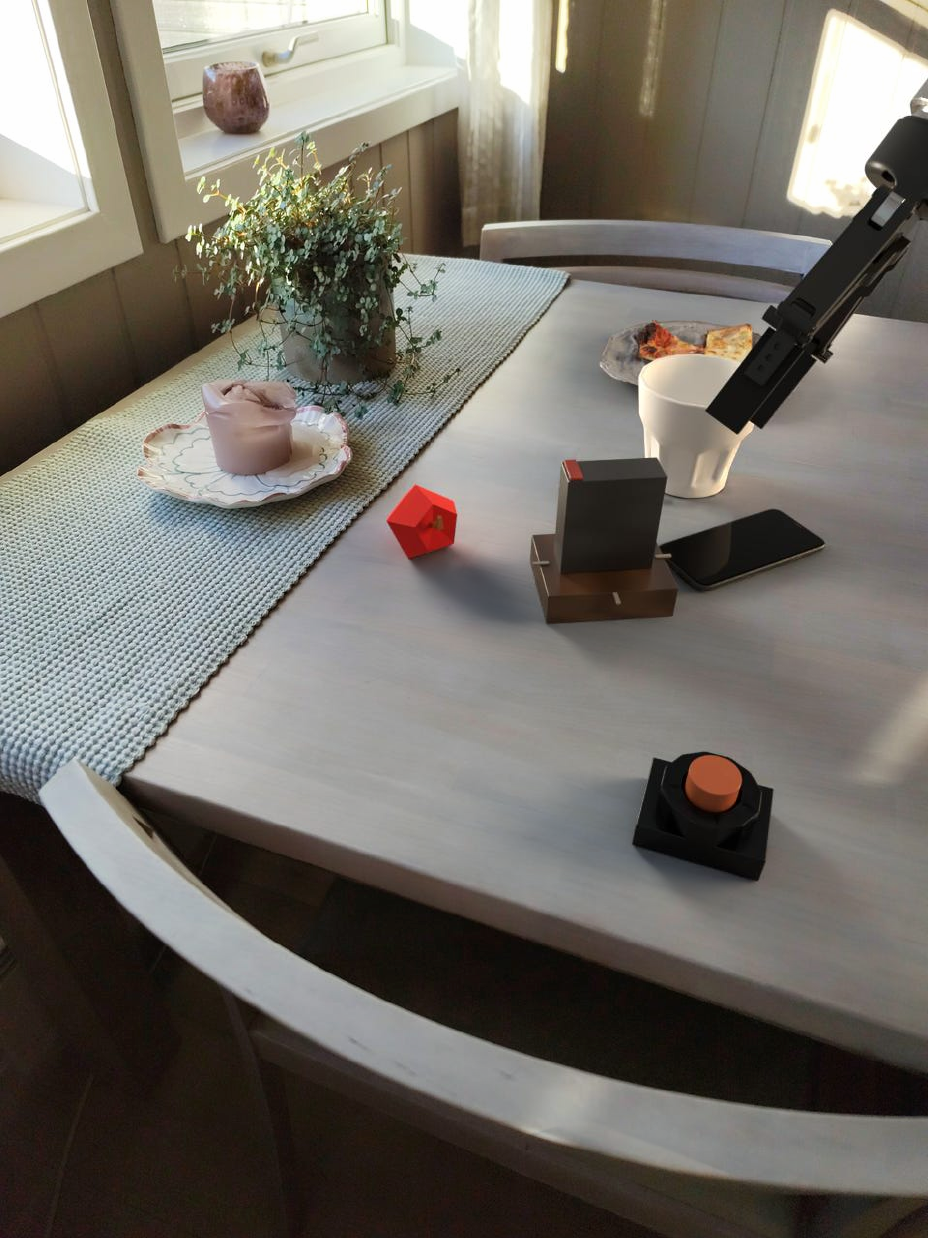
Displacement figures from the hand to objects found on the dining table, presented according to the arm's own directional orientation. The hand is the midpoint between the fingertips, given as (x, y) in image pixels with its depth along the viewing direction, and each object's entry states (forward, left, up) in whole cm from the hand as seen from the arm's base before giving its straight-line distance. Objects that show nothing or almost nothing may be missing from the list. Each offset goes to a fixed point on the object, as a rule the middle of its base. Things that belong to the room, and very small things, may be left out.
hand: (735, 421), depth 65 cm
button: (-15, +19, -14) cm, 28 cm away
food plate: (+30, -38, -17) cm, 51 cm away
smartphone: (+2, -9, -17) cm, 20 cm away
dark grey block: (+7, +5, -14) cm, 16 cm away
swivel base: (+7, +5, -17) cm, 19 cm away
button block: (-15, +19, -17) cm, 30 cm away
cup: (+14, -16, -17) cm, 27 cm away
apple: (+22, +13, -17) cm, 31 cm away
